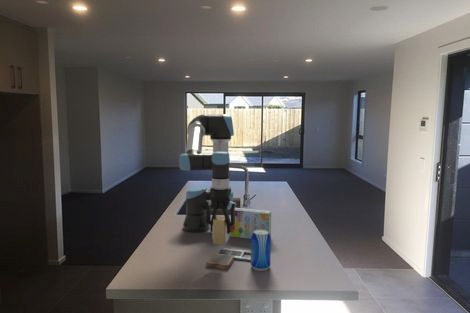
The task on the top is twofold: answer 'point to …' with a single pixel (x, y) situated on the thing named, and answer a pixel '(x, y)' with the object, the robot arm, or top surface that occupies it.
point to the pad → (220, 261)
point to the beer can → (260, 250)
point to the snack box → (250, 222)
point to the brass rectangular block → (219, 230)
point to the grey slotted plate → (235, 253)
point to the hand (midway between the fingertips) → (220, 239)
